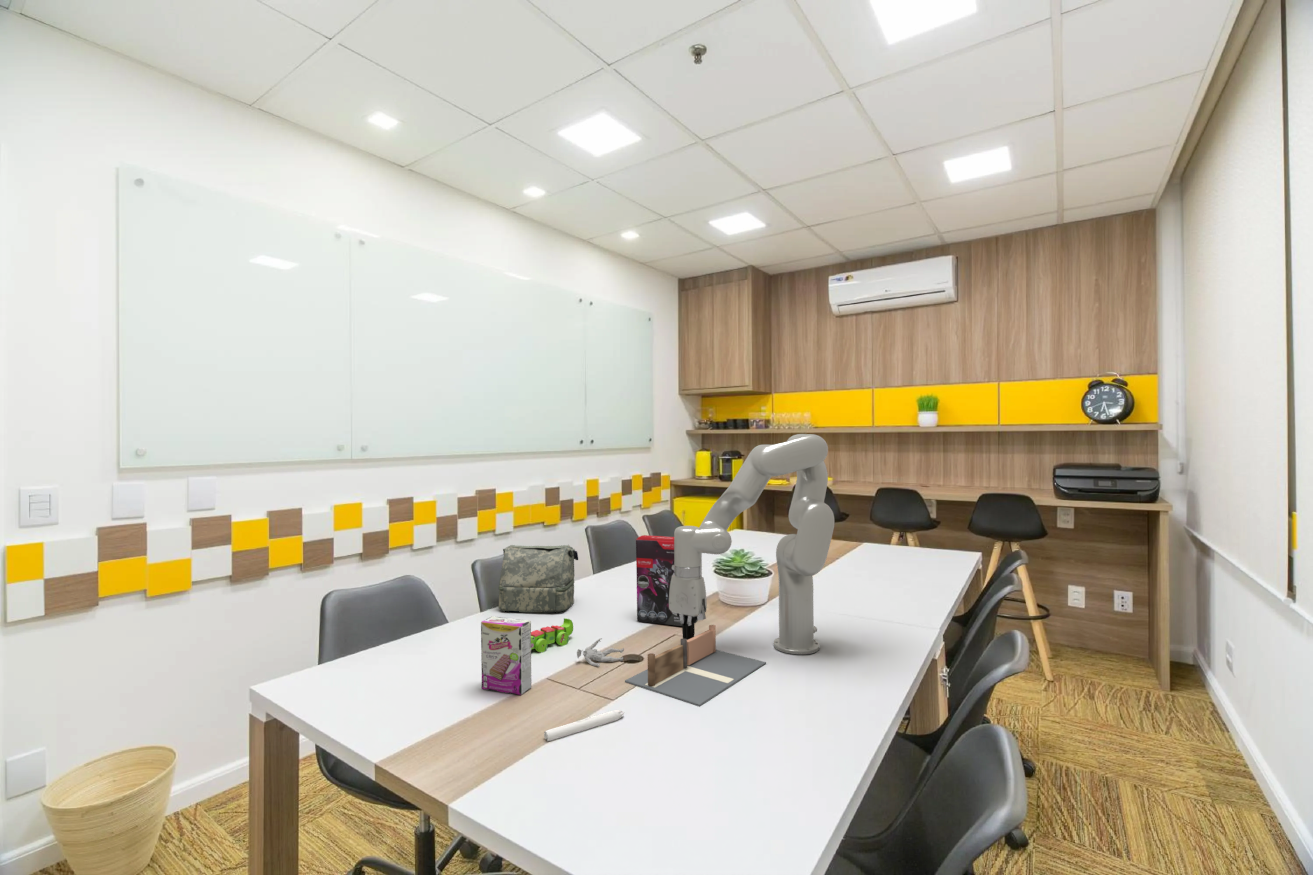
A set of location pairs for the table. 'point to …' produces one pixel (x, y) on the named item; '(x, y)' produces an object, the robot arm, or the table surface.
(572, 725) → the marker
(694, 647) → the fence swing section
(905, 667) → the table surface
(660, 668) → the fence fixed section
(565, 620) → the toy crocodile
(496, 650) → the candy bar box
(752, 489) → the robot arm
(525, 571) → the lunch bag
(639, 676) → the mat
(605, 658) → the soldier figure
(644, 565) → the graphics card box
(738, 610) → the table surface
